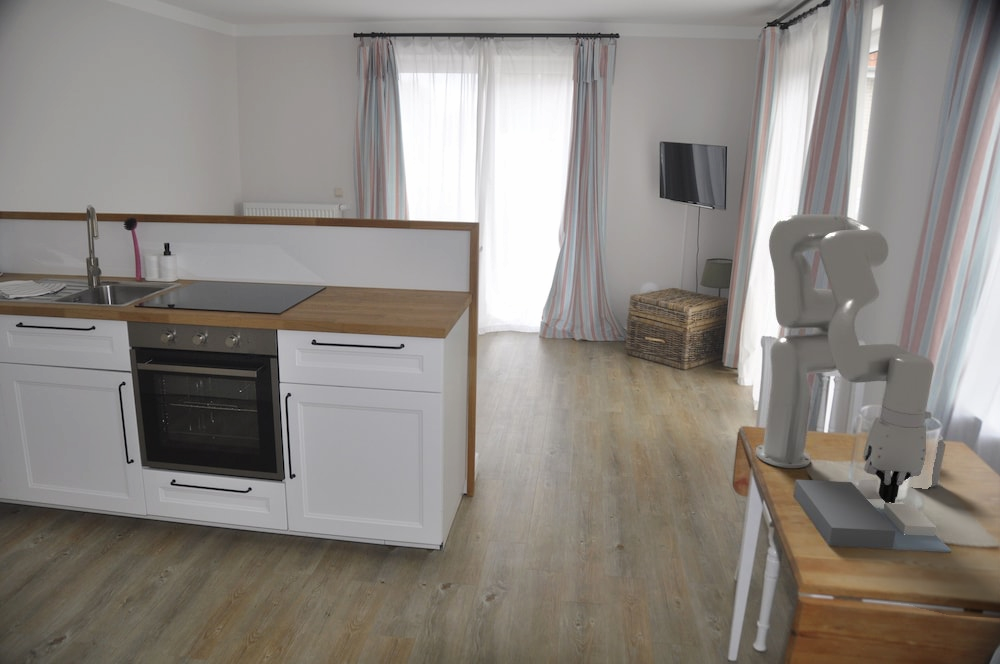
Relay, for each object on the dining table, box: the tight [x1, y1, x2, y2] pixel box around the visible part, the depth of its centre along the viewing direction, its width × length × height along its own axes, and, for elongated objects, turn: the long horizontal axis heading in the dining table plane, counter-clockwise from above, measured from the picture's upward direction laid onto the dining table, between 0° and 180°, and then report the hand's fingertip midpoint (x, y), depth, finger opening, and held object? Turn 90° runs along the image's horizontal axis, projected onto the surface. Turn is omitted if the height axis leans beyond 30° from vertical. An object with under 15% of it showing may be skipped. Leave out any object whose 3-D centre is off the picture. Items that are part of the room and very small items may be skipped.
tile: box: [883, 503, 937, 536], centre depth 142 cm, size 9×6×2 cm, turn 176°
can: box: [931, 434, 946, 488], centre depth 160 cm, size 8×8×12 cm
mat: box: [875, 507, 952, 553], centre depth 143 cm, size 20×11×1 cm, turn 176°
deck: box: [793, 479, 896, 550], centre depth 143 cm, size 20×12×4 cm, turn 176°
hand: (886, 499), depth 142 cm, fingers closed
